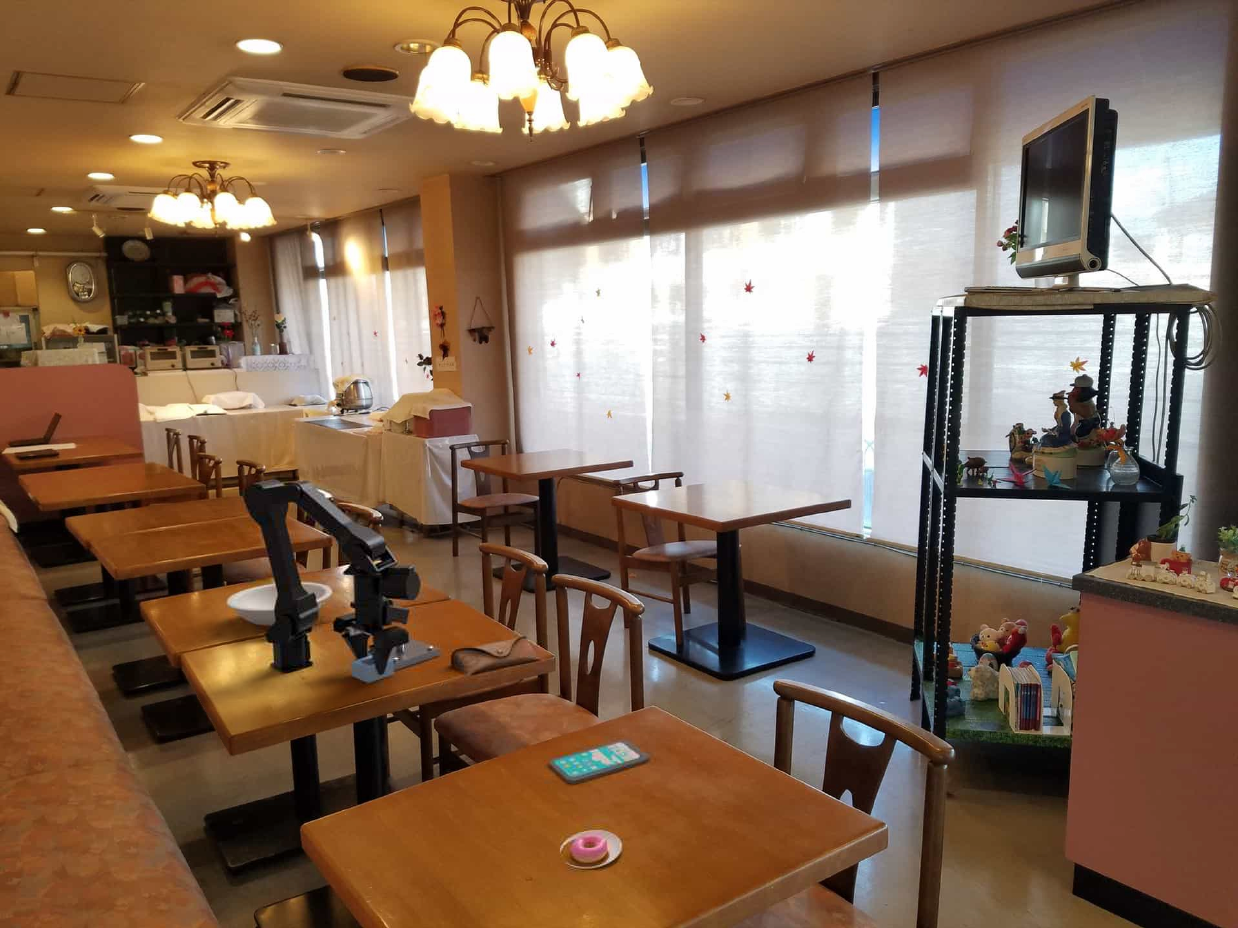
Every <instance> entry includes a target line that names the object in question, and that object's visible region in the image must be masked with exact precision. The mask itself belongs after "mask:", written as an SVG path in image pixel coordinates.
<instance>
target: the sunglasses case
mask: <svg viewBox="0 0 1238 928" xmlns="http://www.w3.org/2000/svg"><path fill="white" fill-rule="evenodd" d="M541 660H542V658H541V657H539V656H538V654H537V653H536V651H535V650H534V648H533V647H532V645H531V644H530V642H529V640H528V638H527V636H519V637H517V638H513V639H507V640H501V641H496V642H490V643H485V644H480V645H476V646H471V647H468V646H467V647H466V646H465V647H461V648H457V649H455V650H454V651H452V653H451V655H450V664H451V666H452V667H454V668H455V669H456V670H458V671H460V672H461V673H463V674H464V675H466V676H467V677H470V676H474V675H477V674H481V673H485V672H488V671H489V672H490V671H493V670H497V669H501V668H507V667H511V666H516V665H521V664H524V663H525V664H526V663H531V662H537V661H541Z"/></svg>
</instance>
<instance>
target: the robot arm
mask: <svg viewBox="0 0 1238 928" xmlns="http://www.w3.org/2000/svg"><path fill="white" fill-rule="evenodd" d="M242 497H243V503H244V505H245V507H246V510H247V512H248V514H249V517H251V519H253V521H255V523H256V524H257V525H258V526H259V527H260V530H261V534H262V538H263V542H264V546H265V551H266V553H267V558H268V562H269V564H270V565H269V566H270V570H271V573H272V576H273V582H274V584H275V585H276V589H277V599H276V603H275V607H274V614H275V623H274V624H273V625H272V626H269V628H268V629H267V630H266V631H265V632H264V636H265V639H266V641H267V643H268V644H272V654H273V655H272V657H273V662H271V663H269V667H271V668H273V669H275V670H277V671H280V672H282V673H284V674H286V673H289V672H293V671H294V672H295V671H297V670H300V669H304V668H306V667H309V666H313V665H314V661H311V658H312V656H311V654H312V653H311V641H309V639H308V634H310V633H312V632H313V628H314V625H315V624H316V623H317V621H318V620H319V611H321V607H320V608H319V607H318V605H317V601H316V595H315V593H314V592H313V593H310V594H309V593H308V592H307V591H306V590H305V589H304V588H303V587H302V584H301V582H302V581H301V577H300V572H299V570H298V569H299V568H298V566H297V565H298V564H297V561H296V558H295V553H294V550H293V546H292V542H291V538H290V534H289V531H288V527H287V525H288V524H287V522H286V519H287V516H288V510H289V507H290V506H289V505H290V504H289V503H294V504H295V505H296V506H298V507H299V508H300V509H301V510H303V512H304V513H306V514H307V515H308V516H309V517H310V518H311V519H313V520H314V521H315V522H316V523H317V524H318V525H319V526H320V527H322V528H323V530H325V531H326V532H327V533H328V534H330V536H332V537H333V538H334V539H335V541H337V544H338V548H339V550H340V552H341V553H342V554H343V555H344V557H345V558H346V559H347V561H349V566H348V567H347V568H346V569H345V570H344V571H343V572H342V574H343V575H344V576H352V581H353V599H354V600H353V601H349V605H350V606H349V607H350V608H352V609H354V612H351V613H347V614H344V615H343V614H342V615H340V616H336V618H335V619H334V620H333V623H332V625H333V626H332V628H333V632H336V633H339V634H340V635H341V638H342V639H343V640H344V642H345V643H346V645H347V647H348V648H349V649H350V651H351V653H352V654H353V656H354V658H355V660H358V659H361V658H364V657H367V649H368V648H369V649H370V652H371V655H372V658H373V661H374V664H375V667H376V669H377V672H378V674H379V675H382V674H384V673H385V669H386V666H387V663H388V659H389V656H390V654H391V651H392V649H393V648H394V647H396V646H400V645H403V644H406V643H409V638H410V632H409V631H408V630H407V629H405V628H403V627H399V626H397V625H394V626H392V625H393V623H397V624H402V625H405V626H406V625H407V624H408V621H409V618H410V617H409V616H410V612H411V610H410V609H409V608H407V607H403V606H399V605H396V604H394V600H400V601H412V602H413V601H415V600H416V599H417V597H418V596H419V594H420V590H421V579H420V576H419V574H418V573H417V572H416V571H415V566H414V565H410V564H409V565H407V564H406V565H399V563H398V561H397V559H396V558H395V556H394V555H393V553H392V552H391V551H390V549H389V548H388V546H387V545H386V544H387V542H386V539H385V538H384V537H383V536H382V535H381V534H380V533H378V532H376V531H375V530H373V529H371V528H370V527H367V526H365V525H362V524H358V523H357V522H356V521H353V520H352V519H351V518H350V517H348V515H346V513H344V512H343V511H342V510H340V509H339V508H338V507H337V506H336V505H335V504H334V503H333V502H332V501H330V500H329V499H328V498H327V497H326V496H325V495H324V494H322V493H321V492H320V491H319V490H318V489H317V488H316V487H315V485H314V483H312V482H311V481H309V480H300V481H290V482H281V481H280V480H278V479H269V480H264V481H260V482H255V483H252V484H250V485H248V486H247V487H246V488H245V490H244V492H243V495H242ZM379 560H381V561H379ZM377 561H378V562H377ZM374 562H377V563H374ZM384 627H386V628H384ZM371 636H372V643H373V644H370V645H368V644H369V639H370V638H371Z"/></svg>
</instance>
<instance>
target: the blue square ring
mask: <svg viewBox="0 0 1238 928" xmlns="http://www.w3.org/2000/svg"><path fill="white" fill-rule="evenodd" d="M350 668H351V670H350V672H351V676H352V677H353V678H356V679H358V680H360V681H362V682H365V683H367V684H370V683H373V682H376V681H379V680H382V679H384V678H387V677H391V676H394V675H395V671H394V667H393V660H391V659H388V663H387V666H386V669H385V673H384V674H382V675H379V674H378V672H377V669H376V667H375V664H374V661H373V658H372V655H371V656H368V657H364V658H361V659H358V660H356V659H355V660H352V661H350Z"/></svg>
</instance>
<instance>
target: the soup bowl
mask: <svg viewBox="0 0 1238 928" xmlns="http://www.w3.org/2000/svg"><path fill="white" fill-rule="evenodd" d="M301 584H302V587H303V588H304V589H305V590H306V591H307V592H308V593H309V594H310V593H313V592H314V593H315V595H316V601H317V605H318V607H319V608H320V609H321V607H322V606H323V604H324V603H325V601H326V600H327V599H328V598H329V597H331V596H332V594H333V590H332V588H330V587H329V586H328V585H325V584H322V583H316V582H306V581H305V582H303V581H301ZM276 599H277V589H276V585H275V583H270V584H265V585H259V586H255V587H251V588H246V589H243V590H241V591H238V592H236V593H234V594H232V595H230V596H229V597H228V598H227V599H226V602H225V603H226V605H227V607H228V608H230V609H232V610H235V612H236V613H237V614H238V615H239V616H240V617H241V618H243V619H244V620H246V621H247V622H249V623H252V624H255V625H260V626H266V627H267V626H269V627H271V626H272V625H273V624H274V623H275V614H274V607H275V603H276Z"/></svg>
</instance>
